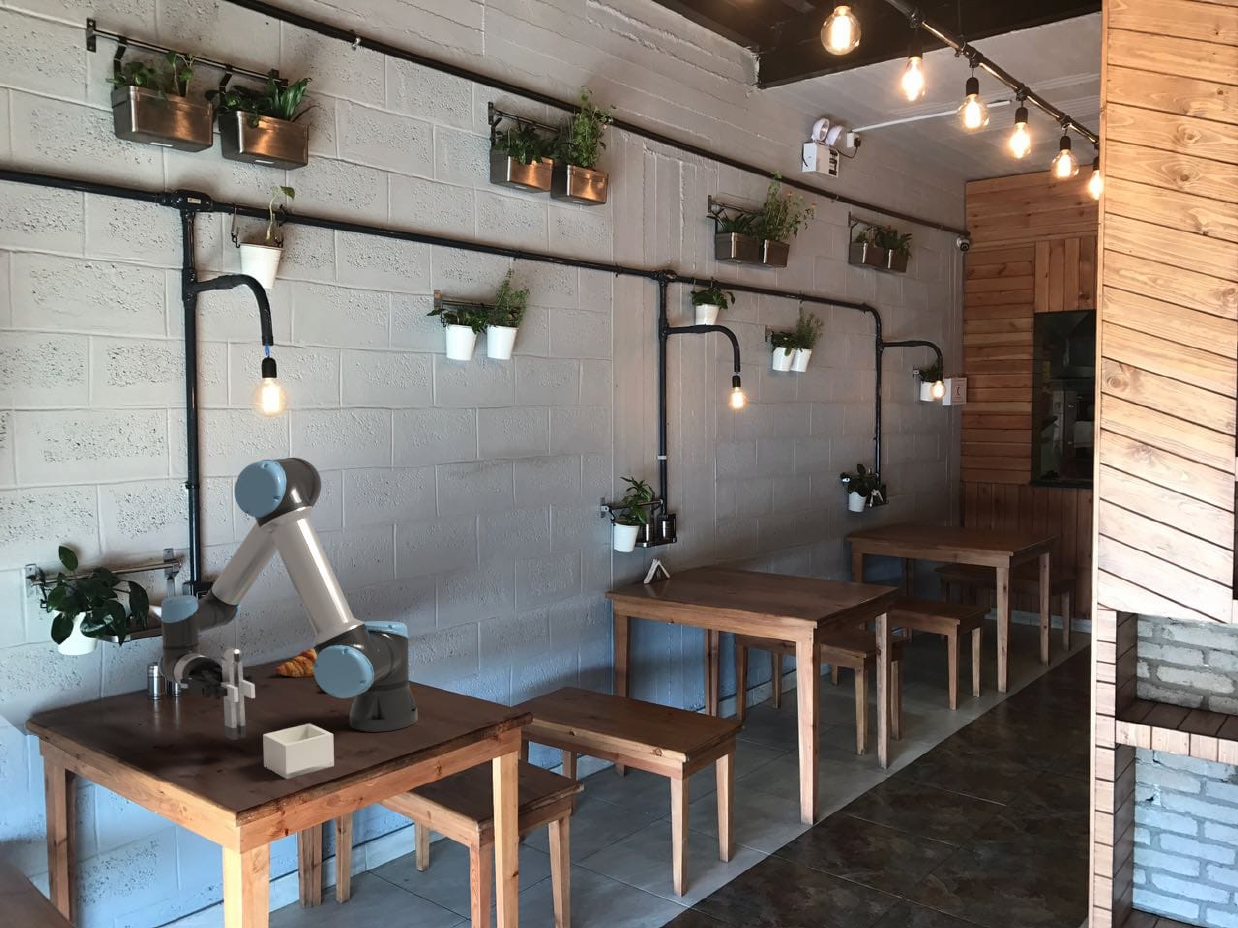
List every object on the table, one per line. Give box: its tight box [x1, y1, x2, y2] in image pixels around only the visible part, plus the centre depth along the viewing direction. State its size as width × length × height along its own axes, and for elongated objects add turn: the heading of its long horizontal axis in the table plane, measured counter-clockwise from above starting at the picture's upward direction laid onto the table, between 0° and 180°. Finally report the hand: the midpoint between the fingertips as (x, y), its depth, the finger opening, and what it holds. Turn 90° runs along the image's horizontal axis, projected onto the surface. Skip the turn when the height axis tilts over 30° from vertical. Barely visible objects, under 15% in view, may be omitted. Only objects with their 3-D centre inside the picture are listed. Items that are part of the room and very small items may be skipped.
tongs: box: [220, 646, 247, 741], centre depth 204 cm, size 3×5×18 cm, turn 44°
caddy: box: [262, 722, 335, 780], centre depth 200 cm, size 10×10×6 cm
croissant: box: [275, 648, 317, 678], centre depth 273 cm, size 21×10×8 cm, turn 126°
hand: (244, 693), depth 200 cm, fingers closed on tongs, 3 cm apart
